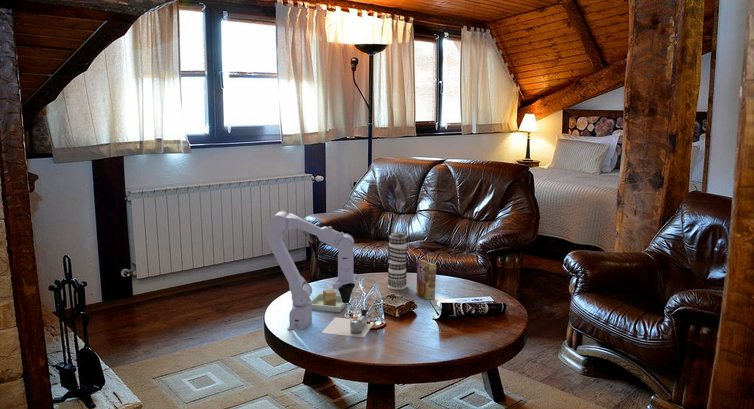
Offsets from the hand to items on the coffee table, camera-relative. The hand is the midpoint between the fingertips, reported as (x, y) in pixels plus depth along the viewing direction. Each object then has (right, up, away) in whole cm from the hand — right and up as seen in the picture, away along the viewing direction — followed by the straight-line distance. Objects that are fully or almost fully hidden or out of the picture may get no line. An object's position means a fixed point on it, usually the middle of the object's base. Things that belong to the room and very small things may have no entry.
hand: (345, 302), depth 224 cm
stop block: (-8, -5, +22) cm, 24 cm away
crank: (+5, -9, -2) cm, 11 cm away
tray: (-8, -5, +23) cm, 24 cm away
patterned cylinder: (+21, -1, +50) cm, 54 cm away
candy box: (+33, -4, +37) cm, 49 cm away
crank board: (+1, -10, -1) cm, 10 cm away
